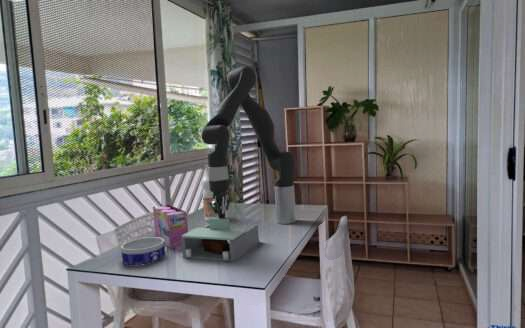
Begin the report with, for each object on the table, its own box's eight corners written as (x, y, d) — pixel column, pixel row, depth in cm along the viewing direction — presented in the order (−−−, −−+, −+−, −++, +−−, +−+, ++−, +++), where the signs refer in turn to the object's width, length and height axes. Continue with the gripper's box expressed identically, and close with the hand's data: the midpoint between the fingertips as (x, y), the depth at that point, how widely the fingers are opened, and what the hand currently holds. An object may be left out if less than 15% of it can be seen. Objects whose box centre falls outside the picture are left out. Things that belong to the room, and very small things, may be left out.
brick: (202, 251, 138) (201, 238, 137) (210, 247, 141) (209, 235, 140) (223, 255, 131) (222, 242, 131) (230, 252, 134) (229, 239, 134)
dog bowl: (150, 249, 148) (148, 234, 147) (174, 255, 138) (172, 239, 137) (114, 261, 136) (112, 245, 135) (137, 269, 126) (135, 252, 126)
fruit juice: (201, 220, 190) (196, 166, 187) (215, 216, 196) (211, 163, 193) (212, 222, 183) (207, 166, 180) (227, 218, 189) (222, 164, 186)
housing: (212, 239, 155) (211, 222, 154) (259, 241, 147) (257, 224, 146) (180, 258, 133) (178, 239, 133) (232, 263, 125) (231, 242, 125)
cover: (197, 229, 144) (196, 217, 144) (246, 231, 136) (245, 219, 136) (181, 237, 134) (180, 224, 134) (233, 240, 126) (232, 226, 126)
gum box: (154, 236, 166) (151, 206, 165) (171, 232, 170) (168, 203, 169) (170, 249, 146) (167, 215, 145) (190, 244, 150) (187, 211, 149)
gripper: (218, 175, 148) (222, 218, 149) (201, 181, 135) (205, 227, 137) (235, 175, 145) (238, 219, 146) (219, 181, 133) (222, 228, 134)
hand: (222, 223), depth 142 cm, fingers closed
